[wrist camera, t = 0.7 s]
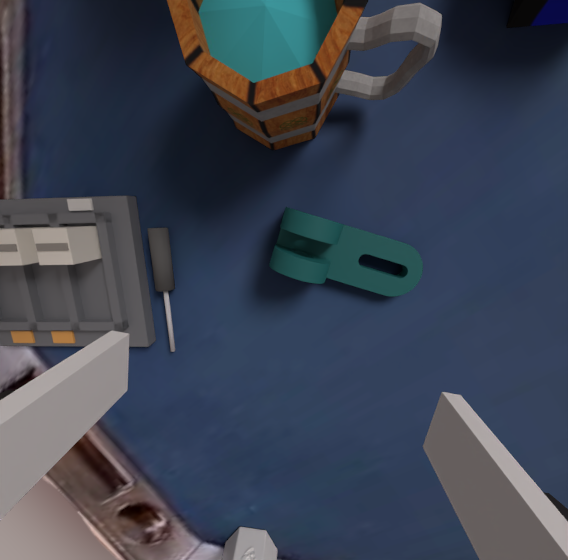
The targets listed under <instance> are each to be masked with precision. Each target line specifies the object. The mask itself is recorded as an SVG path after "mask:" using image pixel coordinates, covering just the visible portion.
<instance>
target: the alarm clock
mask: <svg viewBox="0 0 568 560" xmlns="http://www.w3.org/2000/svg"><path fill="white" fill-rule="evenodd" d="M561 23H568V0H515V1H514V4H513V7H512V11H511V14H510V17H509V21H508V24H507V28H512V27H524V26H536V25H549V24H561Z"/></svg>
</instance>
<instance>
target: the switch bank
mask: <svg viewBox="0 0 568 560" xmlns="http://www.w3.org/2000/svg"><path fill="white" fill-rule="evenodd" d="M71 226H97V231H98V237H99V243H100V249H101V254H102V258H100V259H96V260H92V261H87V262H83V263H79V264H74V265H40V264H39V262H38V263H33V264H28V265H14V266H0V346H88V345H89V344H91V343H92V342H94V341H96V340H97V339H99V338H100V337H102V336H104V335H105V334H107V333H108V332H110V331H118V332H123V333H128V334H129V347H149V346H150V345H151V344H152V343H154V342H155V341H156V338H155V330H154V323H153V316H152V309H151V302H150V294H149V287H148V280H147V273H146V265H145V258H144V251H143V244H142V237H141V229H140V222H139V215H138V208H137V201H136V197H135V196H103V197H72V198H40V199H9V200H0V228H5V229H8V228H30V227H50V228H53V227H71Z"/></svg>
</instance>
